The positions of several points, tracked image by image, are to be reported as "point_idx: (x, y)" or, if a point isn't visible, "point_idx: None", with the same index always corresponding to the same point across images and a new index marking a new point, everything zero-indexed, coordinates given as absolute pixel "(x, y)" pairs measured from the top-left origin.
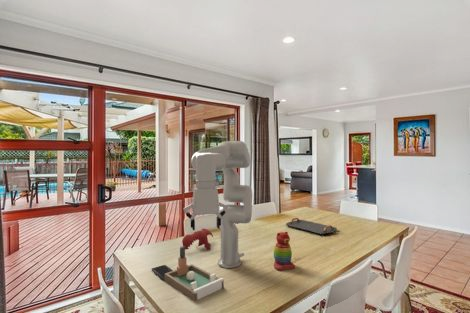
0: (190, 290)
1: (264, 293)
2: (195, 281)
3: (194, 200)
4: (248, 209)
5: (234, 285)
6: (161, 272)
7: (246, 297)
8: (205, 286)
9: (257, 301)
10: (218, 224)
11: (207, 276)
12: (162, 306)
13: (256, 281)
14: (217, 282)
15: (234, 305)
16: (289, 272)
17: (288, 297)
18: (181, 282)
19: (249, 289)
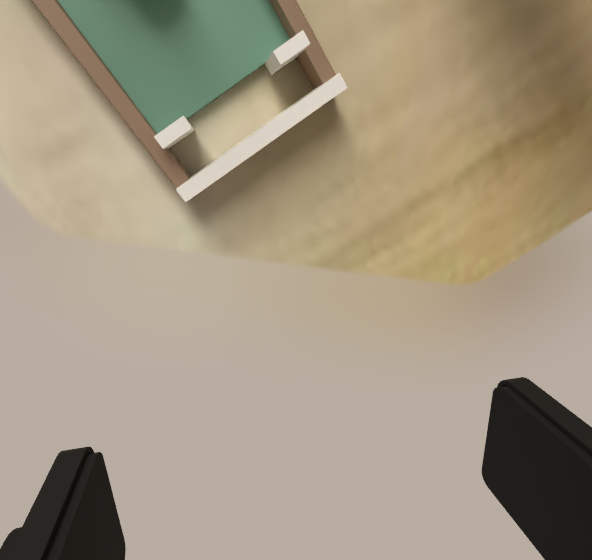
0: (161, 165)
1: (486, 184)
2: (184, 121)
3: None
4: None
5: (388, 82)
6: None
7: (409, 202)
8: (241, 162)
9: (439, 237)
10: (533, 535)
11: None
12: (35, 216)
13: (499, 64)
14: (307, 115)
15: (349, 252)
16: None
17: (552, 228)
18: (94, 53)
19: (441, 138)
